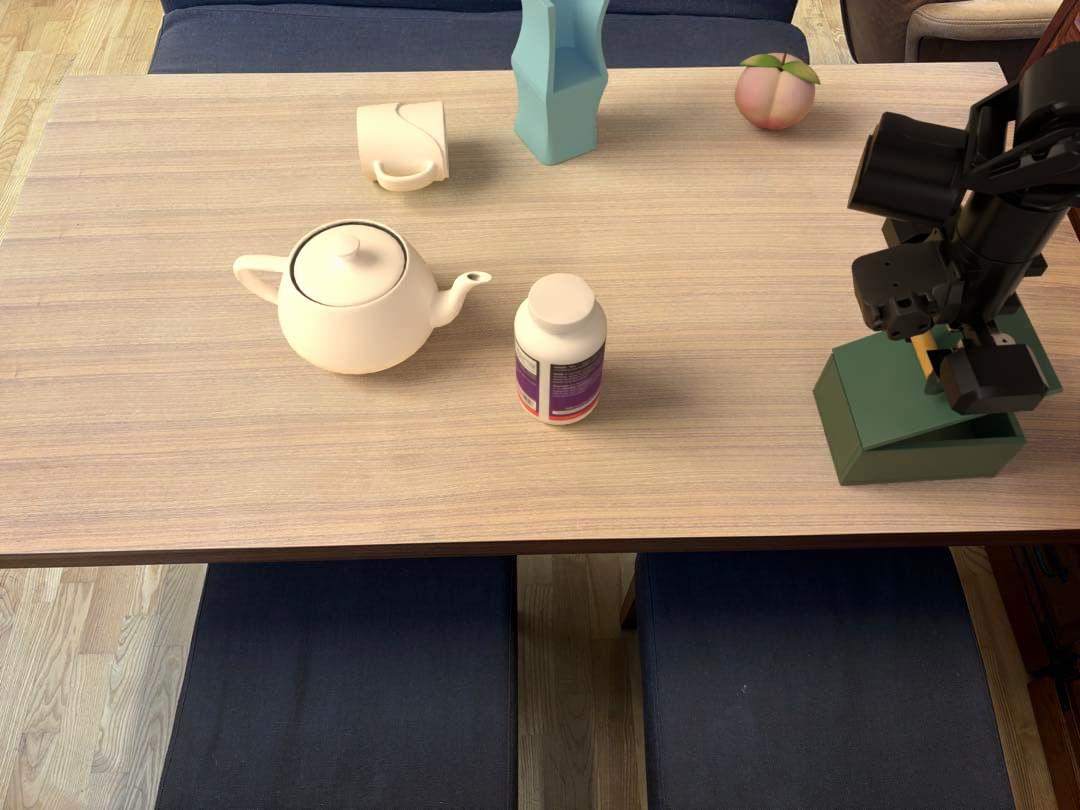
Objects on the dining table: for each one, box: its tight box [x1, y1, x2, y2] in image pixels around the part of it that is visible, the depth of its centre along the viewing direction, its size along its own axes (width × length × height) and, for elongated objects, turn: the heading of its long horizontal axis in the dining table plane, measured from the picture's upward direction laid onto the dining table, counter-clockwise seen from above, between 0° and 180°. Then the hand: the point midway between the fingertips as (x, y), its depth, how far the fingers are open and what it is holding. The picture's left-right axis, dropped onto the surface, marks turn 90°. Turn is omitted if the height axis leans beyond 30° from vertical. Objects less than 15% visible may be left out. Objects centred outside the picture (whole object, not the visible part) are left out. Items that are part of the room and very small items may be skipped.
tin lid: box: [831, 289, 1064, 451], centre depth 70 cm, size 15×10×4 cm
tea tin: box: [812, 352, 1028, 486], centre depth 77 cm, size 14×10×6 cm
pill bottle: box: [513, 272, 608, 426], centre depth 76 cm, size 8×8×14 cm
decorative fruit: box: [734, 52, 822, 131], centre depth 100 cm, size 9×8×10 cm
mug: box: [356, 100, 450, 193], centre depth 95 cm, size 12×9×8 cm
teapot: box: [232, 218, 493, 375], centre depth 81 cm, size 25×16×12 cm, turn 82°
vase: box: [510, 0, 611, 166], centre depth 94 cm, size 8×8×20 cm
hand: (920, 366), depth 71 cm, fingers closed on tin lid, 5 cm apart
